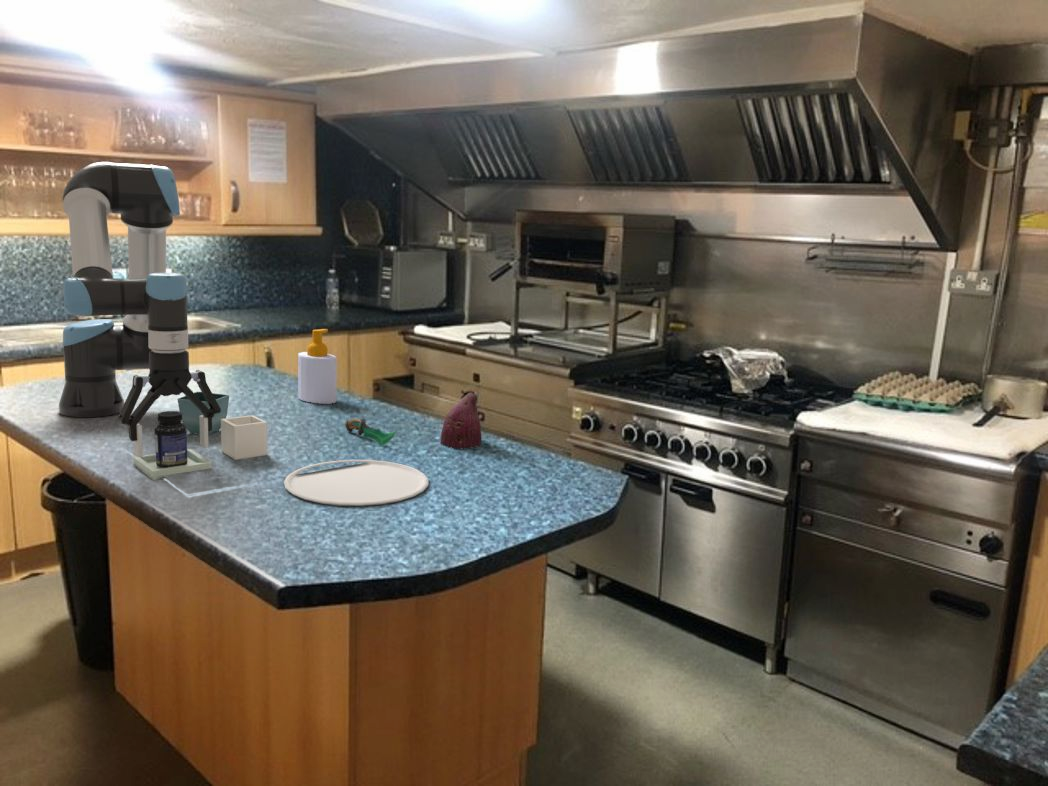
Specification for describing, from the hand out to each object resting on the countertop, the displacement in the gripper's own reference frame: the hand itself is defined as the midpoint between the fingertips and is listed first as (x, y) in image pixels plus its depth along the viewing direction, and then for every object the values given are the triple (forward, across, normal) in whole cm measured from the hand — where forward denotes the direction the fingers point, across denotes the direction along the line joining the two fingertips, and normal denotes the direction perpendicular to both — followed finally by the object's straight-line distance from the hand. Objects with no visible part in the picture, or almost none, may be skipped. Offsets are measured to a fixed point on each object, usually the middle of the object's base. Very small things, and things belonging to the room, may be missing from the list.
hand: (172, 451), depth 179 cm
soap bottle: (+4, +56, +43) cm, 71 cm away
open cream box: (+4, +16, +1) cm, 16 cm away
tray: (+4, 0, 0) cm, 4 cm away
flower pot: (+4, +16, +24) cm, 29 cm away
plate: (+4, +27, -29) cm, 40 cm away
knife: (+4, +46, -2) cm, 47 cm away
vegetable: (+4, +64, -15) cm, 66 cm away
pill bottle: (+3, 0, 0) cm, 3 cm away
